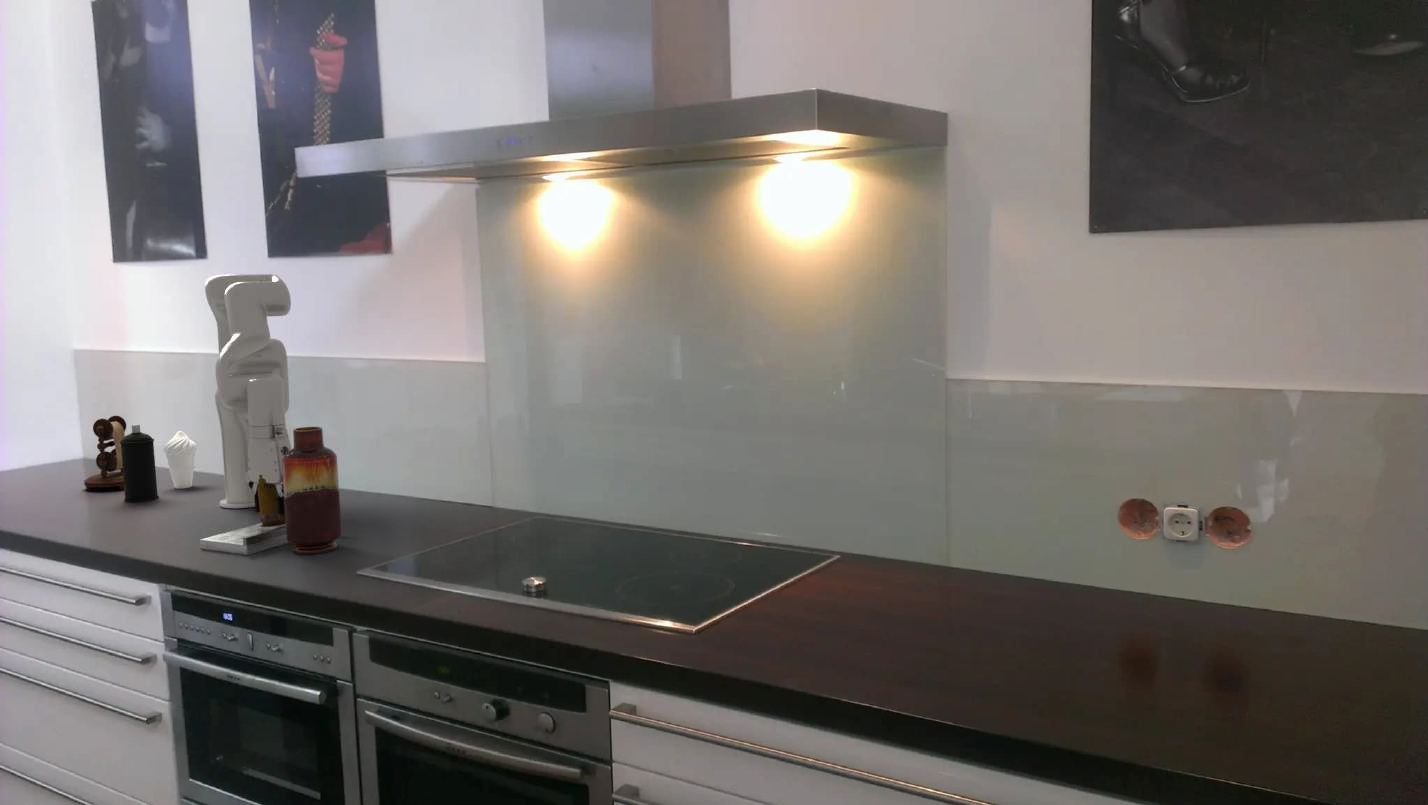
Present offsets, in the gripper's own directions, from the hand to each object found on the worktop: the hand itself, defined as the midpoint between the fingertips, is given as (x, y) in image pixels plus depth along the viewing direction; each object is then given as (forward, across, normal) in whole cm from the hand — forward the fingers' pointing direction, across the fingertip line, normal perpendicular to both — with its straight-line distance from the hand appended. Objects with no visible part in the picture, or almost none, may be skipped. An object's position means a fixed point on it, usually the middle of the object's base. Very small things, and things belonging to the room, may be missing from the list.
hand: (273, 511), depth 244 cm
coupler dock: (+6, 0, +3) cm, 6 cm away
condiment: (+3, -1, 0) cm, 3 cm away
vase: (+6, -17, +4) cm, 18 cm away
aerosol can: (+5, +68, -18) cm, 71 cm away
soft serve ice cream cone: (+5, +73, -34) cm, 80 cm away
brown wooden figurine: (+5, +92, -26) cm, 95 cm away
